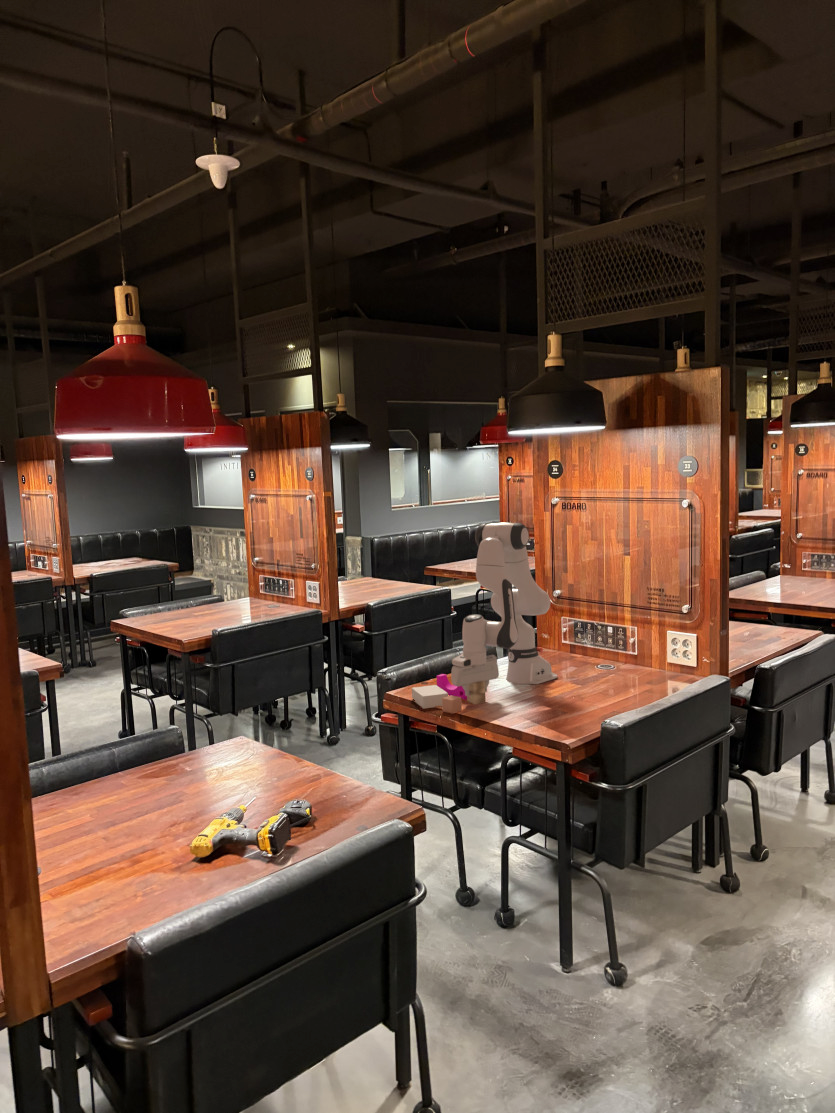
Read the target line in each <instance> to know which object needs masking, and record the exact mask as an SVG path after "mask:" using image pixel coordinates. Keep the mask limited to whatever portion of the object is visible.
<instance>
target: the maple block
mask: <svg viewBox="0 0 835 1113" xmlns="http://www.w3.org/2000/svg"><path fill="white" fill-rule="evenodd" d="M467 688H468V690H469V691H471V695H469V696H467V699H466V701H467V703H469V704H473V705H478V704H483V703H486V700H487V699H486V692H485V681H481V682H476V683H473V684H468V687H467Z"/></svg>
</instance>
